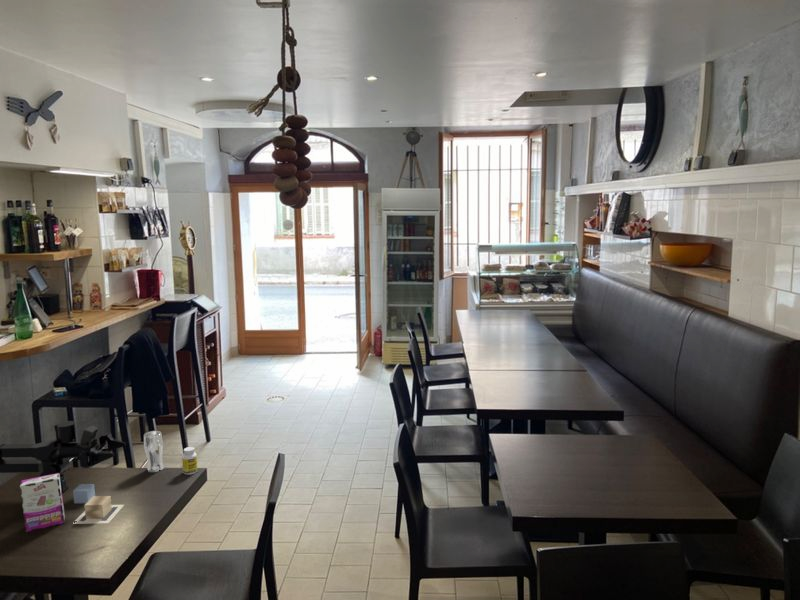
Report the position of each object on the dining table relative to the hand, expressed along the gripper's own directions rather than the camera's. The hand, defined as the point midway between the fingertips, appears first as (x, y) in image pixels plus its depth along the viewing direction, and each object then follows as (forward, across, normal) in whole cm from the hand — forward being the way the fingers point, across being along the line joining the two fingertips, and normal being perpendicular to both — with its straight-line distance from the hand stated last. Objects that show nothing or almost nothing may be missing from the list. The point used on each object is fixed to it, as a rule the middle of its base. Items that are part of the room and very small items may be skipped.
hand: (119, 449), depth 215 cm
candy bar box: (-16, -22, +17) cm, 32 cm away
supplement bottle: (+20, +15, +17) cm, 30 cm away
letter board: (-1, -16, +17) cm, 23 cm away
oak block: (-1, -16, +16) cm, 23 cm away
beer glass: (+5, +18, +17) cm, 25 cm away
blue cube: (-11, -6, +17) cm, 21 cm away
